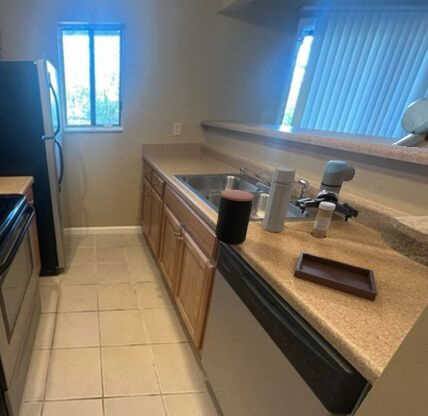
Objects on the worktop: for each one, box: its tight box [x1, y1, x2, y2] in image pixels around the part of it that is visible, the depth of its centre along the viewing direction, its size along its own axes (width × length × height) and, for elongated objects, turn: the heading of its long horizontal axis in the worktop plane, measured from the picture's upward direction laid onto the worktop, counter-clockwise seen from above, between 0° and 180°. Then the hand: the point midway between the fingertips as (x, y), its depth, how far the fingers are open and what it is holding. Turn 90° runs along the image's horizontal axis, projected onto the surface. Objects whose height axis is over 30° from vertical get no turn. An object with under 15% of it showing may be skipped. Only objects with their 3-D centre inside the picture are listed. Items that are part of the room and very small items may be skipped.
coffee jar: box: [214, 189, 255, 245], centre depth 102 cm, size 11×11×18 cm
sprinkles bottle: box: [310, 202, 336, 239], centre depth 103 cm, size 5×5×14 cm
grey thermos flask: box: [262, 166, 297, 233], centre depth 107 cm, size 9×8×25 cm
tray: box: [293, 251, 378, 302], centre depth 81 cm, size 18×14×2 cm
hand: (324, 214), depth 107 cm, fingers open, 13 cm apart
